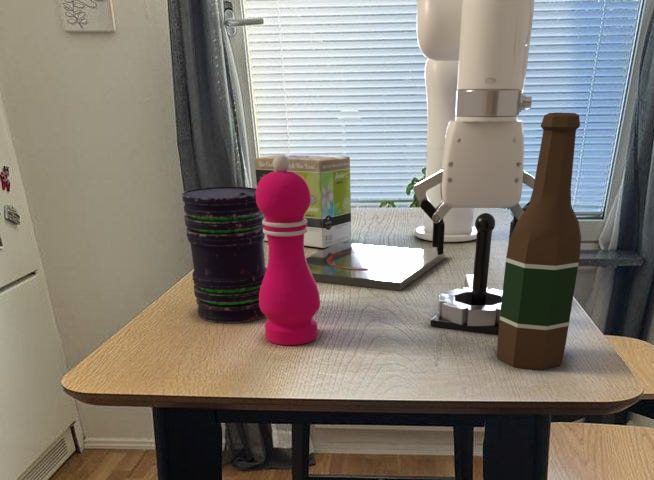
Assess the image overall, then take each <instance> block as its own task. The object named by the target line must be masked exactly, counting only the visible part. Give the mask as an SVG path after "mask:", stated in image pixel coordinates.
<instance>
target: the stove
mask: <svg viewBox="0 0 654 480" xmlns="http://www.w3.org/2000/svg"><path fill="white" fill-rule="evenodd" d="M445 254H446V252H445V251H444V250H443V254H442V255H438V254H437V250H433V249H422V248H409V247H398V246H387V245H377V244H376V245H374V244H363V243H353V242H343V243H342V242H339V243H337V244H335V245H333V246H330V247H326V248H323V250H320V251H318V252H316V253H314V254H312V255H310V256H307V257H306V261H307V264H308V266H309V269H310V271H311V273H312V276H313V278H314V280H315V282H316V283H326V284H335V285H343V286H351V287H361V288H370V289H371V288H372V289H380V290H381V289H382V290H389V291H390V290H391V291H397V292H400V291H402V290H403V289H404V288H406V287H407V286H408V285H410V284H411V283H412V282H414V281H415V280H417V279H418V278H420V277H421V276H422V275H424V274H425V273H426V272H428V271H429V270H430V269H432V268H434V266H436V265H437V264H439V263H440V262H441V261H443V260H445V256H446V255H445Z"/></svg>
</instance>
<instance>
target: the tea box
mask: <svg viewBox="0 0 654 480" xmlns="http://www.w3.org/2000/svg"><path fill="white" fill-rule="evenodd" d="M277 155H278V154H275V155H267V156H261V157H255V158H254V169H255V181H256V182H255V183H256V186H257V185H258V183H259V181H260V180H261V179H262V178H263V177H264V176H265V175H267V174H268V173H271V172H274V171H276V170H275V169H274V167H273V160H274V158H275V157H276V156H277ZM283 155H284V156H286V157H287V158H288V160H289V163H290V166H289V169H288V170H287V171H291V172H294V173H297V174H299V175H300V176H301V177H303V178H304V179H305V181H306V182H307V184H308V186H309V189H310V194H311V202H310V206H309V208H308V210H307V211H306V212H305V214H304V218H306V219H307V223H306V225H307V226H306V227H307V229H308V231H307V232H306V233H304V247H313V248H321V249H327V248H329V247H331V246H333V245H335V244H337V243H339V242H342V243H347V242H348V241H351V239H352V202H351V201H352V196H351V193H352V192H351V157H350V156H347V155H346V156H344V155H319V154H293V153H287V154H283ZM264 219H266V218H265V216H264ZM263 242H268V239H267V235H266V234H265V238H264V239H263Z"/></svg>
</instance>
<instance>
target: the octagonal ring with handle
mask: <svg viewBox="0 0 654 480" xmlns="http://www.w3.org/2000/svg"><path fill="white" fill-rule="evenodd" d="M472 286H473V274H465V275H464V287H462V288H454V289H451V290H446V291H443V292H441V293H440V294H438V301H437V312H438V313H437V314H439V317H442V319H443V320H447V321H450V322H453V323H456V324H460V325H463V324H466V323H467V326H495V324H497V325H499V322H500V312H501V302H502V293H503V290H501V289H496V288H490V289H489V288H488V287H487V291H486V302H485V305H471V298H472Z"/></svg>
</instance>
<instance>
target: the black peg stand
mask: <svg viewBox="0 0 654 480" xmlns="http://www.w3.org/2000/svg"><path fill="white" fill-rule="evenodd" d="M495 226H496V219H495V218H494V215H492V214H490V213H489V212H483V213H481V214H479V215H478V216H477V217H476V219H475V221H474V227H475V228H476V230H477V236H476V239H475V247H474V248H475V249H474V261H473V262H474V263H473V272H472V273H473V274H472V275H473V286H472V298H471V305H485V302H486V291H487V288H488V281H489V280H488V279H489V270H490V269H489V268H490V257H491V247H492V237H493V231H494V229H495ZM429 326H430V327H434V328H442V329H448V330H449V329H450V330H458V331H465V332H473V333H482V334H489V335H490V334H491V335H497V336H498V331H499V325H497V324H495V326H467V323H466V324H463V325H460V324H456V323H453V322H450V321H447V320H443V319H442V317H439V314H438V313H437V314H436V315H435V316H434V317H432V318H431V319H430V325H429Z"/></svg>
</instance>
